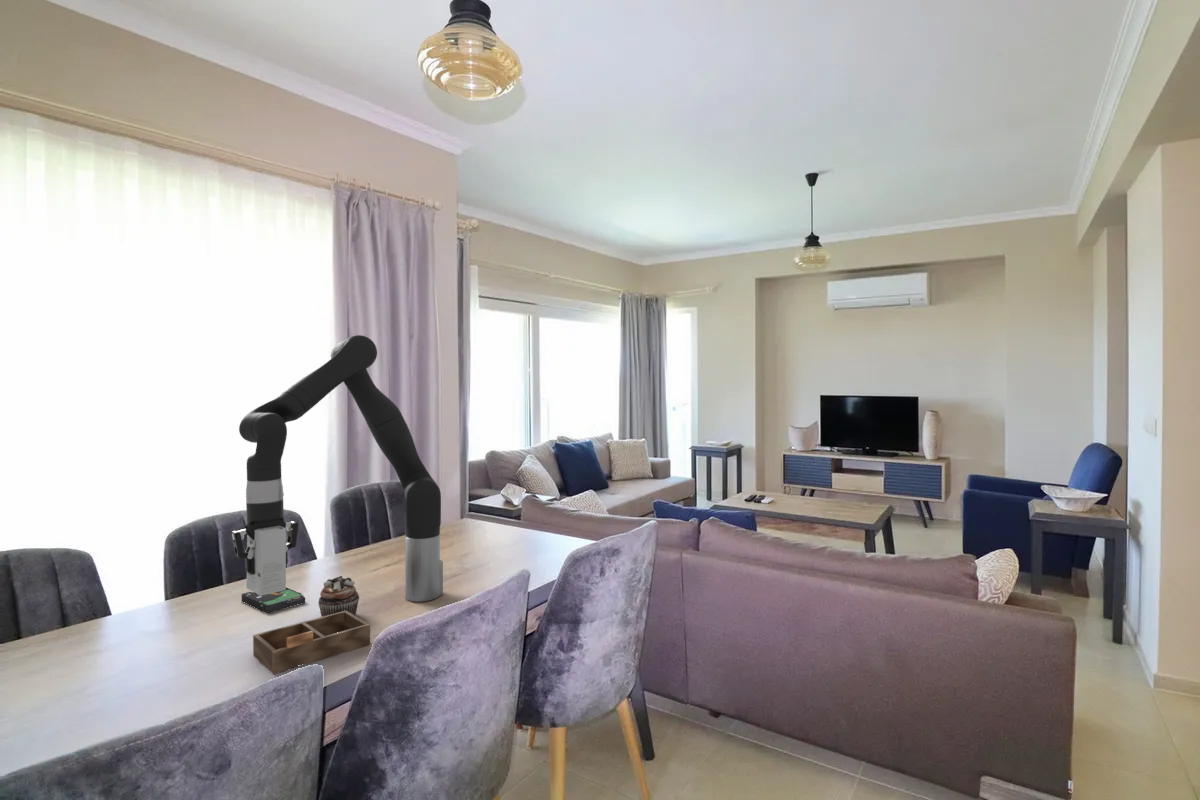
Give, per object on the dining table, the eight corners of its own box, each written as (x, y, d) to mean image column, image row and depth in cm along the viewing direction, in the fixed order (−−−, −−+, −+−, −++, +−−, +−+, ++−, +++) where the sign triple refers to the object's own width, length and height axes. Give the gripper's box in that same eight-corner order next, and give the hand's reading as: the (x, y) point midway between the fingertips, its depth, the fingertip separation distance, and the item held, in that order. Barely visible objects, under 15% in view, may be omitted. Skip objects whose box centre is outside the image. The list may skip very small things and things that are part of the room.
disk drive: (240, 604, 166) (267, 615, 158) (240, 593, 166) (267, 604, 158) (279, 593, 175) (306, 604, 166) (278, 584, 175) (306, 593, 166)
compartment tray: (346, 628, 148) (346, 602, 148) (370, 644, 139) (370, 615, 139) (253, 655, 133) (253, 625, 133) (273, 674, 125) (273, 642, 124)
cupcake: (309, 622, 152) (309, 582, 152) (339, 609, 161) (338, 571, 161) (339, 627, 149) (338, 586, 149) (367, 614, 158) (367, 575, 158)
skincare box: (246, 589, 143) (244, 525, 142) (273, 582, 147) (271, 521, 147) (261, 597, 137) (259, 531, 137) (288, 589, 142) (286, 526, 142)
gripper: (291, 492, 150) (293, 560, 150) (224, 501, 139) (226, 574, 140) (303, 496, 144) (305, 567, 145) (235, 505, 134) (237, 581, 134)
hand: (266, 570), depth 142 cm, fingers closed on skincare box, 6 cm apart
